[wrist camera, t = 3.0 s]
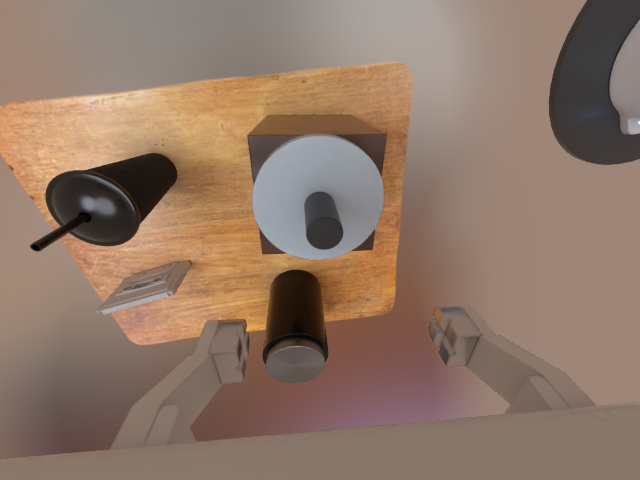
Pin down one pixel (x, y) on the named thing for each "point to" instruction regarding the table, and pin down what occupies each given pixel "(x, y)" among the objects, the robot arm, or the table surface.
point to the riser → (292, 126)
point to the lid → (318, 197)
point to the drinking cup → (107, 199)
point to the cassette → (146, 287)
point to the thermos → (295, 328)
